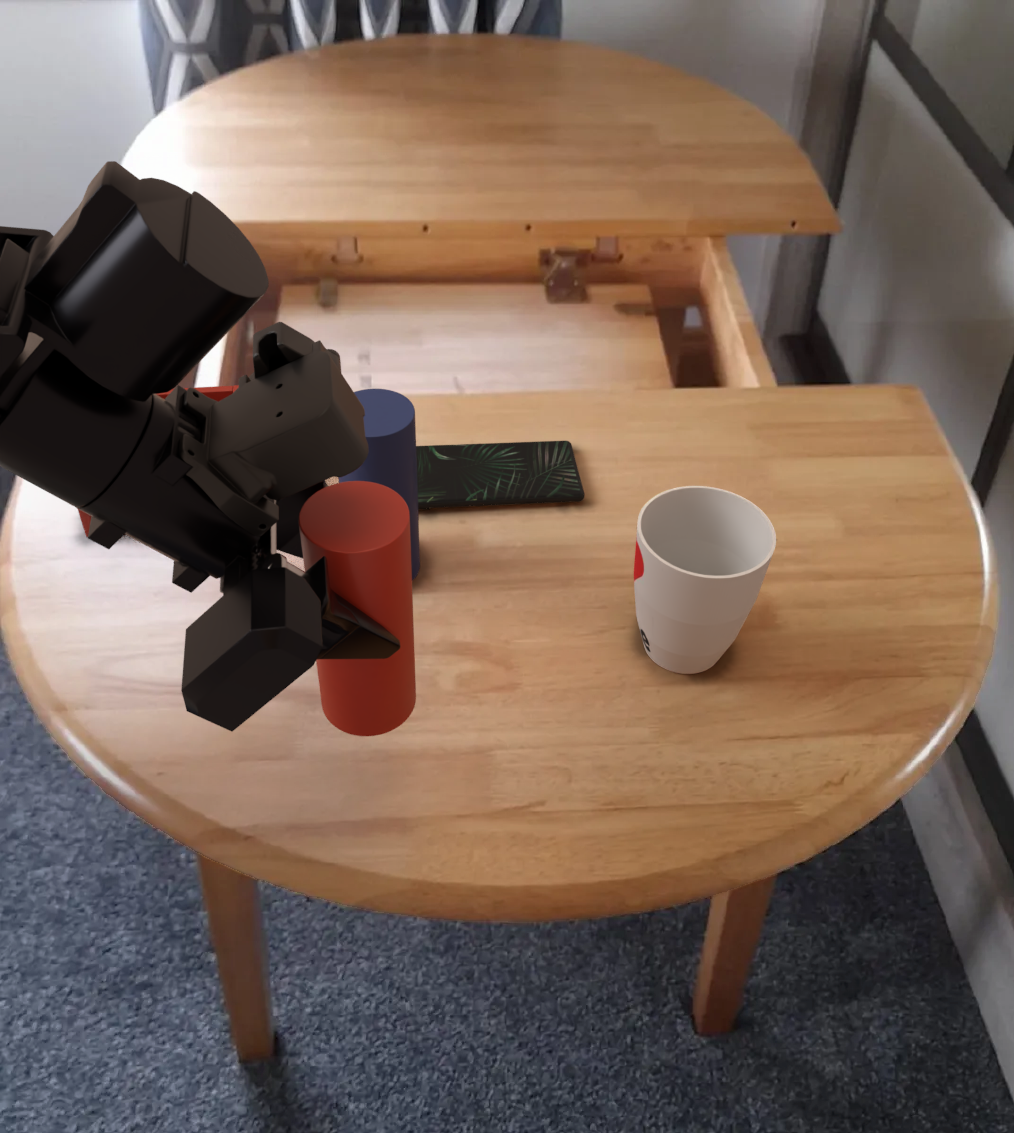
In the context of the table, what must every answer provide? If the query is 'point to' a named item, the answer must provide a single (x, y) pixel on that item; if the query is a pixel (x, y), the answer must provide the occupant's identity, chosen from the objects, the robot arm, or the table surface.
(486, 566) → the table surface
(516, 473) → the smartphone
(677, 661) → the cup
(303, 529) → the red cylinder
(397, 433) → the navy cylinder
